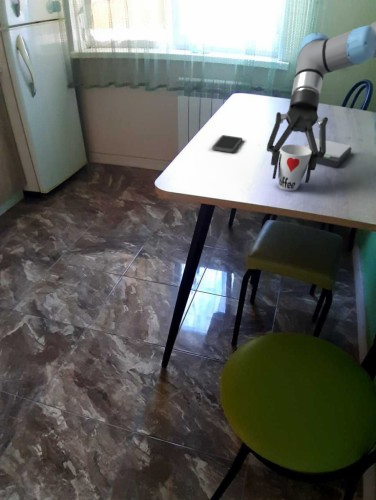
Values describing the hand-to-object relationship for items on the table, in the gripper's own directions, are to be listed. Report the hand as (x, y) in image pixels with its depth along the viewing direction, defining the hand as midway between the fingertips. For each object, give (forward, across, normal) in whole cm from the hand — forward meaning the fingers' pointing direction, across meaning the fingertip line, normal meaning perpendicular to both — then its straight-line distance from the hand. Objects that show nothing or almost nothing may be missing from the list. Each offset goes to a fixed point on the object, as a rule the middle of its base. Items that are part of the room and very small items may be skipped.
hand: (290, 178), depth 110 cm
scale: (-20, -10, -25) cm, 33 cm away
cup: (0, 0, -5) cm, 5 cm away
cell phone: (-19, +21, -25) cm, 38 cm away
